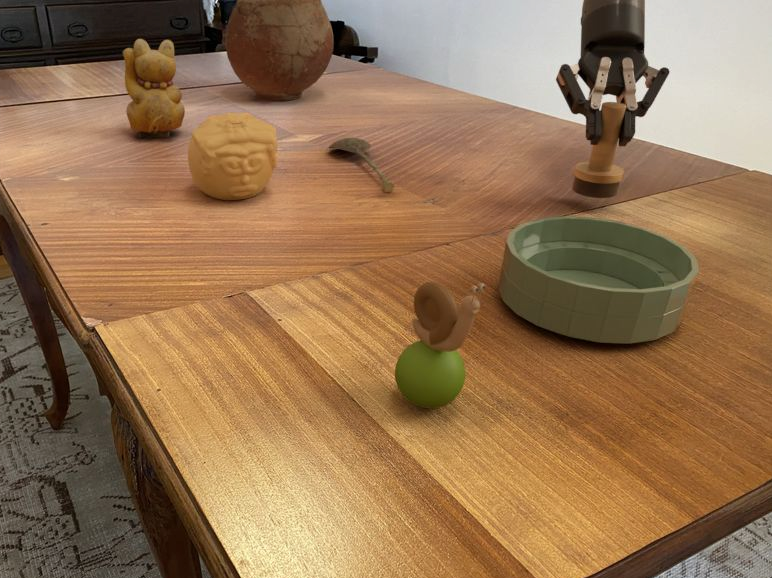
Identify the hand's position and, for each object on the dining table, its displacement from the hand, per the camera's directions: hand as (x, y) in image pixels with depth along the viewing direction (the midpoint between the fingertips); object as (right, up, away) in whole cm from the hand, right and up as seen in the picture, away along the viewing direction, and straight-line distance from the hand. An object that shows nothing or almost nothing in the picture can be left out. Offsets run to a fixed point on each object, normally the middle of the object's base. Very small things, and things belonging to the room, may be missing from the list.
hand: (610, 142), depth 87 cm
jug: (-43, +27, +59) cm, 77 cm away
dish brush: (0, -5, +5) cm, 7 cm away
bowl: (-10, -21, -17) cm, 29 cm away
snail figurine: (-28, -30, -31) cm, 51 cm away
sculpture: (-48, -4, +10) cm, 49 cm away
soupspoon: (-29, +1, +19) cm, 35 cm away
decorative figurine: (-63, +11, +33) cm, 72 cm away
